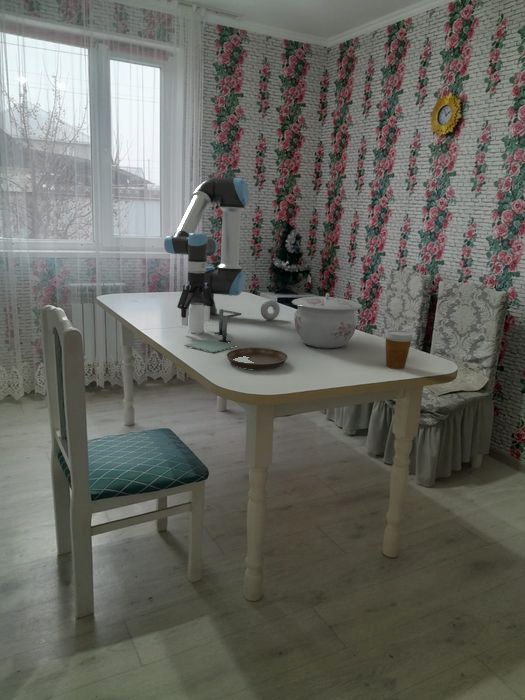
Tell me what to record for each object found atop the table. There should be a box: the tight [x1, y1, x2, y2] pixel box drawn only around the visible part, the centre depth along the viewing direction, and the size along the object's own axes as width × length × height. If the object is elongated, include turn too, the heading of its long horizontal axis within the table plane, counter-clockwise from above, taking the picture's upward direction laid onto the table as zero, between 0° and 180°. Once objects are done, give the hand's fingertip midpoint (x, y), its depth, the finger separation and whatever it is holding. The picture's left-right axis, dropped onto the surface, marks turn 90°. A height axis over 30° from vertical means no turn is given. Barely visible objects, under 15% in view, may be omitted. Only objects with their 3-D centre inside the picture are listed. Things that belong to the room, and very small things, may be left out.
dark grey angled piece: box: [214, 308, 242, 343], centre depth 215 cm, size 14×14×10 cm
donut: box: [260, 299, 281, 321], centre depth 257 cm, size 10×4×10 cm, turn 117°
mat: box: [184, 338, 238, 352], centre depth 201 cm, size 14×14×1 cm
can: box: [187, 303, 205, 334], centre depth 223 cm, size 6×6×12 cm
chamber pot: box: [291, 292, 363, 350], centre depth 211 cm, size 28×28×21 cm
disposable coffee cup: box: [384, 329, 414, 370], centre depth 185 cm, size 10×10×12 cm
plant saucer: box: [225, 347, 288, 371], centre depth 181 cm, size 21×21×3 cm
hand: (196, 323), depth 224 cm, fingers open, 13 cm apart
